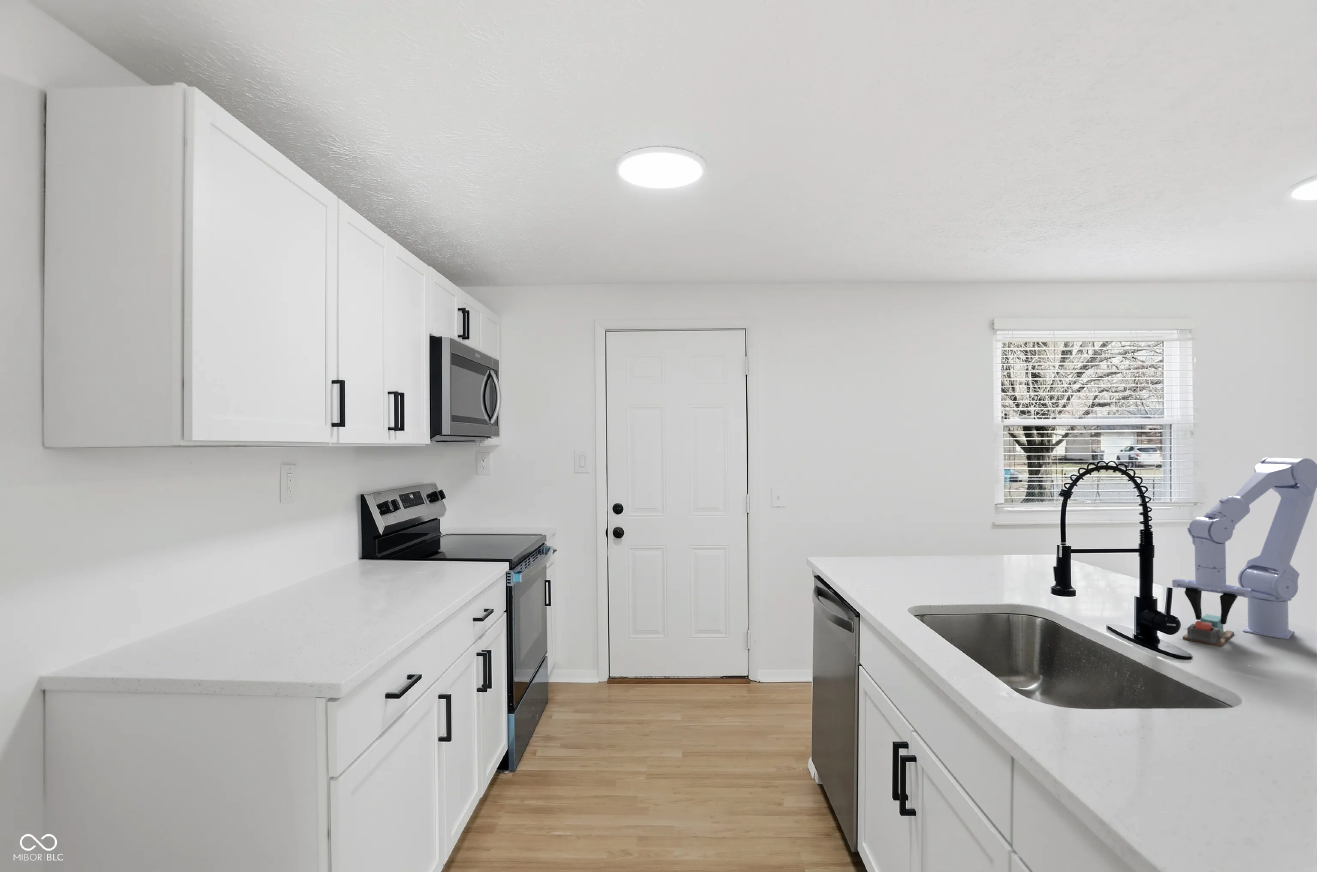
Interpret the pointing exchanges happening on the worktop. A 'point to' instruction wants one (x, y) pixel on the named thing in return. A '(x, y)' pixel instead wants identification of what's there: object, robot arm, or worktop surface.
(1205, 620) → the teal block
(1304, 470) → the robot arm
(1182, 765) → the worktop surface
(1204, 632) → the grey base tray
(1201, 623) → the button
